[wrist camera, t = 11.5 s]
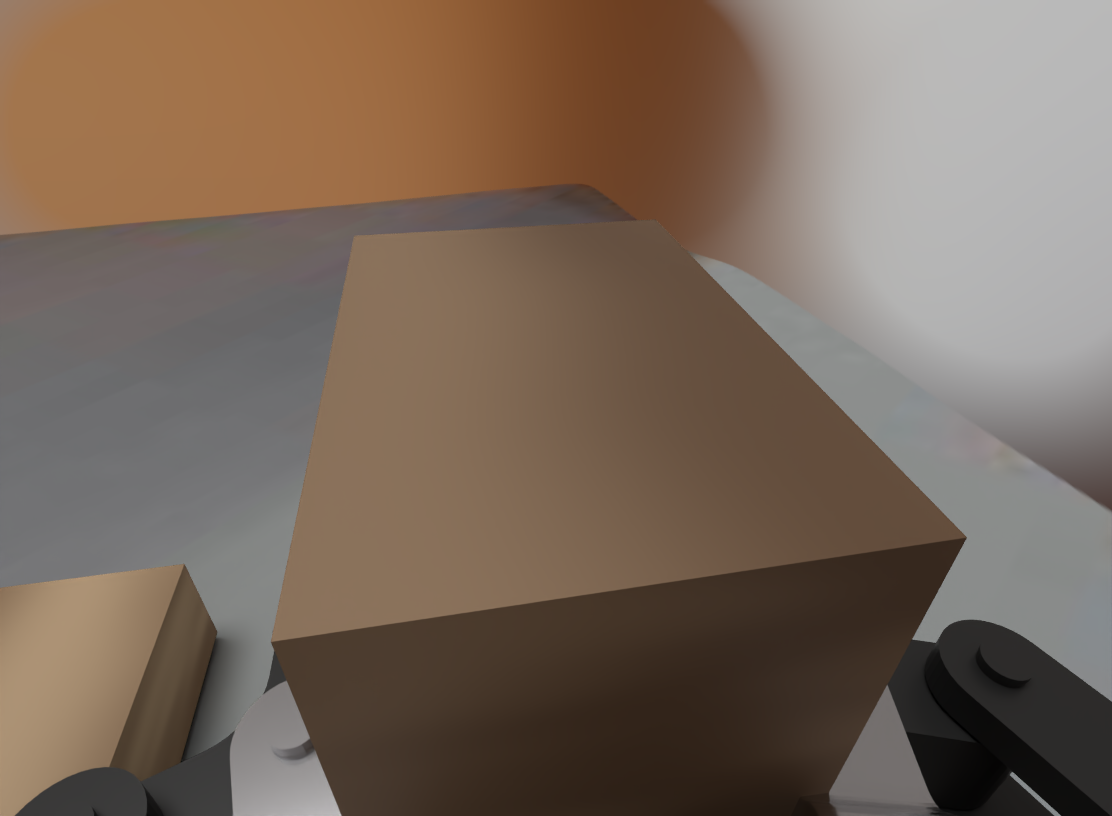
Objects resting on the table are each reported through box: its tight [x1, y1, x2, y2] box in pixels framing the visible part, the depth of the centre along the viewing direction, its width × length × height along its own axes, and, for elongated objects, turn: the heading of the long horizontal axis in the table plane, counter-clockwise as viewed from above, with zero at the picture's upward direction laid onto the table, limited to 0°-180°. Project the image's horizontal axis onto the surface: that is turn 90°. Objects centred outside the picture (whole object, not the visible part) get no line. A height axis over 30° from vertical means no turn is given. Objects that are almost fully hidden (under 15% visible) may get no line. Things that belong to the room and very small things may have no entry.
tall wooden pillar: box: [271, 220, 967, 816], centre depth 9 cm, size 4×6×11 cm, turn 11°
